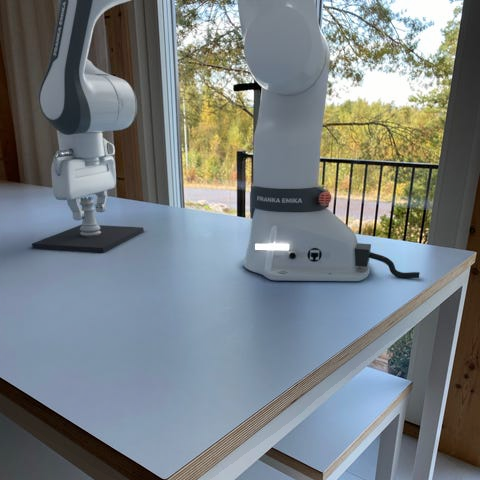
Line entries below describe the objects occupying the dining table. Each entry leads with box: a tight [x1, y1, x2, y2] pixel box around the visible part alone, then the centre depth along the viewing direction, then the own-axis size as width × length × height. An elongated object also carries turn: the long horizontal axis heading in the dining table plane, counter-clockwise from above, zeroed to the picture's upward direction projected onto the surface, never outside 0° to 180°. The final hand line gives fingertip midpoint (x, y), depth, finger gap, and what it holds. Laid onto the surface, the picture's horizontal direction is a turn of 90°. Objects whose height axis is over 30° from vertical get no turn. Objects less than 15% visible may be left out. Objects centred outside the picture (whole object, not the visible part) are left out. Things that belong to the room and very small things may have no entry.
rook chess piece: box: [79, 196, 101, 237], centre depth 103 cm, size 4×4×8 cm
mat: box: [31, 224, 145, 254], centre depth 105 cm, size 16×20×1 cm
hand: (90, 215), depth 103 cm, fingers open, 8 cm apart
